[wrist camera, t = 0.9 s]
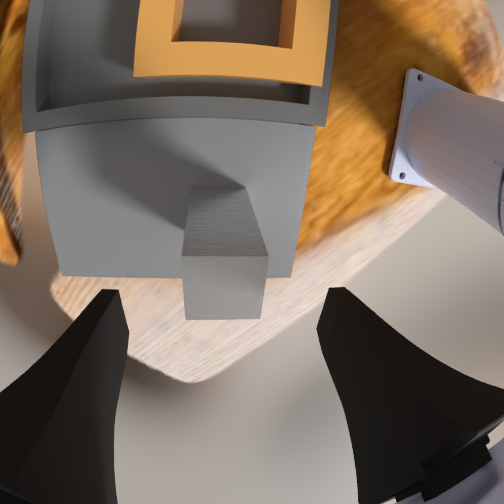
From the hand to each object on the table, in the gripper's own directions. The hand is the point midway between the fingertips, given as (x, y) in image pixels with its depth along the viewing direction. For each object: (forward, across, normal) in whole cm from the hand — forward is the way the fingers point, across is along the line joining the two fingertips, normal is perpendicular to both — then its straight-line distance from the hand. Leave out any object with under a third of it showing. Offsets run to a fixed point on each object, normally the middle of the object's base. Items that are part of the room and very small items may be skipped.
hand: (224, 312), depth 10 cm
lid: (+9, +3, 0) cm, 10 cm away
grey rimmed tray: (+9, +3, -14) cm, 18 cm away
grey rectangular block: (+8, 0, 0) cm, 8 cm away
